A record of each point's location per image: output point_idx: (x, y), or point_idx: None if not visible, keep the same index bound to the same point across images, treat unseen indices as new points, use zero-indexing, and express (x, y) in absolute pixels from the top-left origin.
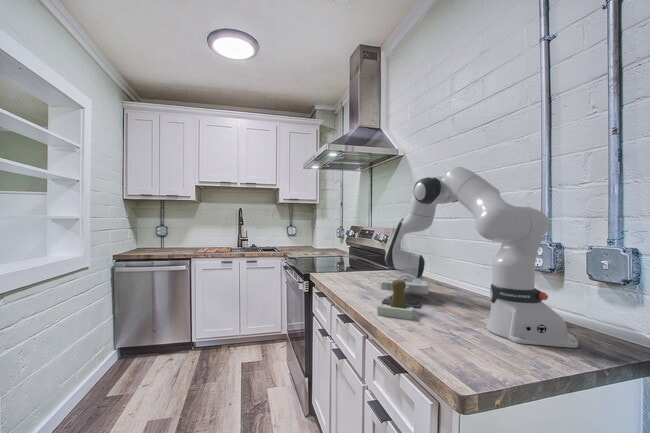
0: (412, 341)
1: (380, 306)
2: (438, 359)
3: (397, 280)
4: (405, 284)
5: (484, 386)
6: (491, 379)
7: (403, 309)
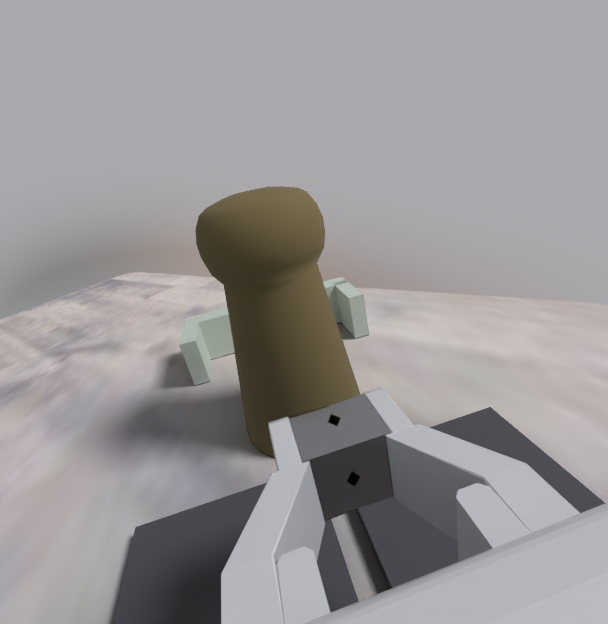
0: (187, 291)
1: (331, 282)
2: (141, 287)
3: (261, 188)
4: (196, 237)
5: (94, 286)
6: (74, 296)
7: (224, 310)
